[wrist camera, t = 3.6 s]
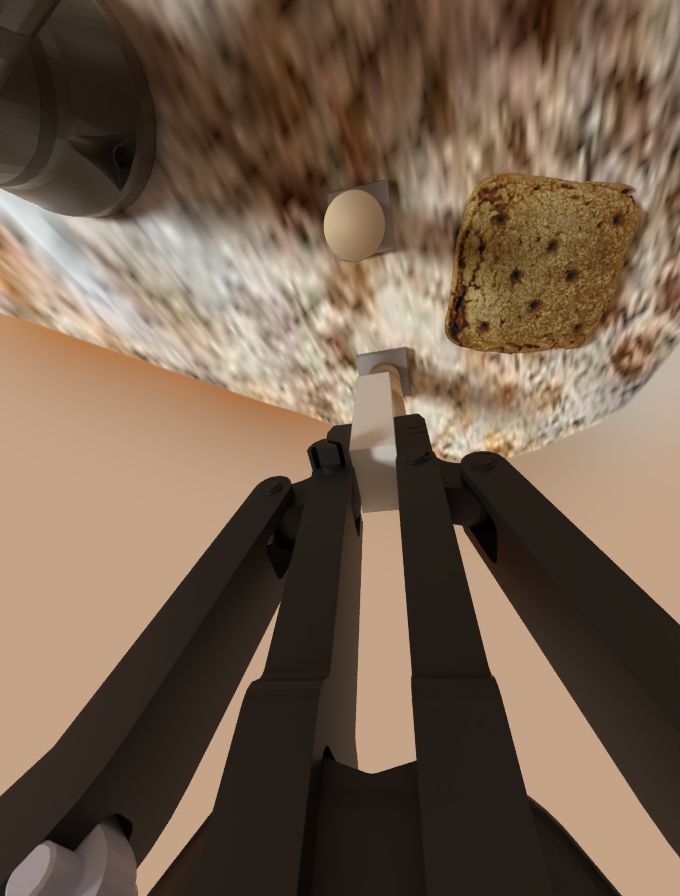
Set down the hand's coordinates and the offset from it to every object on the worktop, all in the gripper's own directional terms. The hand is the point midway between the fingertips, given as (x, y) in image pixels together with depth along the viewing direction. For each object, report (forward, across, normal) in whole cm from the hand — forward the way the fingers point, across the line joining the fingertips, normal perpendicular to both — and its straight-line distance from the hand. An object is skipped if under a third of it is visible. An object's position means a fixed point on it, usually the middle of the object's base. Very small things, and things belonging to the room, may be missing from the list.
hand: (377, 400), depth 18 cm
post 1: (+21, 0, +7) cm, 22 cm away
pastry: (+22, +14, +1) cm, 26 cm away
